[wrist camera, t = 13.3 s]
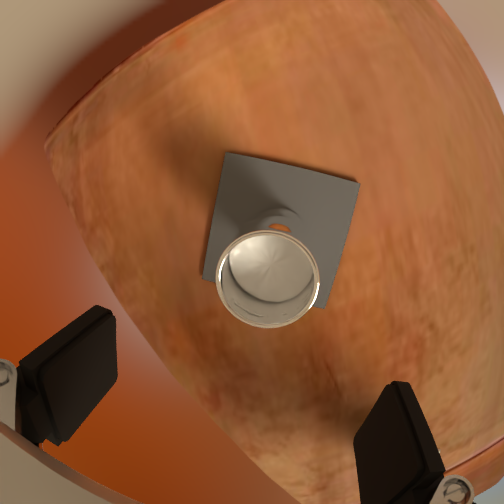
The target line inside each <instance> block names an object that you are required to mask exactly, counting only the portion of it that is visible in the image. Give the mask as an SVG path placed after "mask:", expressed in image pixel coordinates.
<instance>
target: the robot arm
mask: <svg viewBox="0 0 504 504" xmlns="http://www.w3.org/2000/svg"><path fill="white" fill-rule="evenodd" d="M19 364H20V365H19V366H18V367H17V368H15V366H14V365H13V364H12V363H11V362H10V361H7V360H5V359H0V504H143V503H141V502H138V501H136V500H134V499H131V498H129V497H126V496H124V495H122V494H119V493H118V492H115V491H113V490H111V489H109V488H107V487H105V486H103V485H101V484H99V483H97V482H95V481H93V480H91V479H89V478H88V477H86V476H84V475H82V474H80V473H78V472H77V471H75V470H73V469H71V468H70V467H68V466H67V465H65V464H63V463H62V462H60V461H58V460H57V459H55V458H54V457H52V456H50V455H49V454H47V453H46V452H44V451H43V444H42V443H43V441H44V440H45V439H47V440H49V441H50V442H52V443H53V444H55V445H57V446H59V445H60V444H61V442H62V441H64V442H66V441H68V440H69V439H70V437H71V436H72V435H73V434H74V433H75V431H76V430H77V429H78V428H79V426H80V425H81V424H82V422H83V421H84V420H85V419H86V418H87V417H88V415H89V414H90V413H91V412H92V410H93V409H94V408H95V407H96V406H97V404H98V403H99V402H100V400H101V399H102V398H103V397H104V396H105V395H106V393H107V392H108V391H109V390H110V388H111V387H112V386H113V385H114V383H115V382H116V380H117V376H118V374H117V351H116V318H115V316H113V313H112V311H111V310H109V309H106V308H104V307H101V306H99V305H95V306H93V307H92V308H91V309H89V310H88V311H86V312H85V313H84V314H82V315H81V316H79V317H78V318H77V319H75V320H74V321H72V322H71V323H70V324H68V325H67V326H66V327H64V328H63V329H61V330H60V331H59V332H58V333H56V334H55V335H53V336H52V337H51V338H49V339H48V340H47V341H45V342H44V343H43V344H41V345H40V346H39V347H37V348H36V349H35V350H33V351H32V352H31V353H30V354H28V355H27V356H25V357H24V358H23V359H22V360H20V361H19ZM353 445H354V452H355V459H356V466H357V474H358V483H359V491H360V501H361V504H476V503H474V502H473V499H474V489H473V487H472V485H471V483H470V482H469V481H468V480H467V479H466V478H464V477H462V476H460V475H449V476H446V477H445V478H444V475H443V473H444V472H445V471H446V470H445V467H444V464H443V462H442V459H441V456H440V454H439V453H440V448H437V446H436V443H435V441H434V438H433V436H432V433H431V431H430V429H429V426H428V424H427V421H426V419H425V417H424V414H423V412H422V410H421V407H420V405H419V403H418V401H417V398H416V396H415V394H414V392H413V390H412V387H411V385H410V384H409V383H408V382H400V381H393V382H391V384H388V385H386V386H385V388H384V390H383V391H382V393H381V395H380V397H379V398H378V400H377V402H376V403H375V405H374V407H373V408H372V410H371V412H370V413H369V415H368V416H367V418H366V420H365V421H364V423H363V424H362V426H361V427H360V429H359V430H358V432H357V433H356V435H355V437H354V442H353Z"/></svg>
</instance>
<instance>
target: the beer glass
mask: <svg viewBox="0 0 504 504" xmlns="http://www.w3.org/2000/svg"><path fill="white" fill-rule="evenodd" d="M215 280H216V288H217V291H218V294H219V297H220V299H221V301H222V303H223V304H224V306H225V307H226V308H227V310H228V311H229V312H230V313H231V314H232V315H234V316H235V317H236V318H238V319H239V320H241V321H242V322H244V323H246V324H249V325H252V326H255V327H260V328H278V327H283V326H286V325H289V324H291V323H293V322H295V321H297V320H298V319H300V318H301V317H302V316H304V315H305V314H306V313H307V312H308V310H309V309H310V308H311V307H312V305H313V303H314V301H315V299H316V297H317V294H318V291H319V284H320V277H319V261H318V255H317V251H316V248H315V245H314V243H313V241H312V239H311V237H310V235H309V234H308V232H307V231H306V230H305V226H304V224H303V222H302V220H301V219H300V217H299V216H298V215H297V214H296V213H294V212H293V211H291V210H289V209H286V208H281V207H275V208H270V209H267V210H265V211H263V212H262V213H261V214H259V215H258V216H257V218H255V219H253V220H251V221H249V222H248V223H246V224H245V225H244V226H243V227H241V228H240V229H239V230H238V231H237V232H236V233H235V235H234V236H233V237H232V239H231V240H230V241H229V243H228V245H227V247H226V249H225V250H224V252H223V253H222V255H221V257H220V259H219V261H218V264H217V268H216V277H215Z"/></svg>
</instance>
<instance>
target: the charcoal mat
mask: <svg viewBox="0 0 504 504" xmlns="http://www.w3.org/2000/svg"><path fill="white" fill-rule="evenodd" d="M359 188H360V184H359V183H356V182H352V181H349V180H345V179H342V178H338V177H334V176H331V175H327V174H323V173H319V172H315V171H311V170H307V169H303V168H299V167H295V166H291V165H286V164H282V163H278V162H273V161H268V160H264V159H259V158H254V157H249V156H244V155H239V154H234V153H228V152H226V153H225V158H224V163H223V168H222V173H221V178H220V183H219V188H218V193H217V198H216V203H215V208H214V214H213V219H212V224H211V230H210V235H209V241H208V247H207V252H206V258H205V264H204V270H203V276H202V279H204V280H208V281H212V282H215V283H216V280H215V277H216V268H217V264H218V261H219V259H220V257H221V255H222V253H223V252H224V250H225V249H226V247H227V245H228V243H229V241H230V240H231V239H232V237H233V236H234V235H235V233H236V232H237V231H238V230H239V229H240V228H241V227H243V226H244V225H245V224H246V223H248V222H249V221H251V220H253V219H255V218H257V216H258V215H259V214H261V213H262V212H263V211H265V210H267V209H270V208H275V207H281V208H286V209H289V210H291V211H293V212H294V213H296V214H297V215H298V216H299V217H300V219H301V220H302V222H303V224H304V226H305V230H306V231H307V232H308V234H309V235H310V237H311V239H312V241H313V243H314V245H315V248H316V251H317V255H318V261H319V277H320V284H319V291H318V294H317V297H316V299H315V301H314V303H313V305H312V306H314V307H318V308H323V309H325V306H326V303H327V300H328V297H329V294H330V291H331V288H332V285H333V282H334V278H335V275H336V272H337V269H338V265H339V262H340V259H341V255H342V252H343V248H344V245H345V241H346V238H347V234H348V231H349V227H350V223H351V219H352V216H353V212H354V208H355V204H356V200H357V196H358V192H359Z"/></svg>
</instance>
